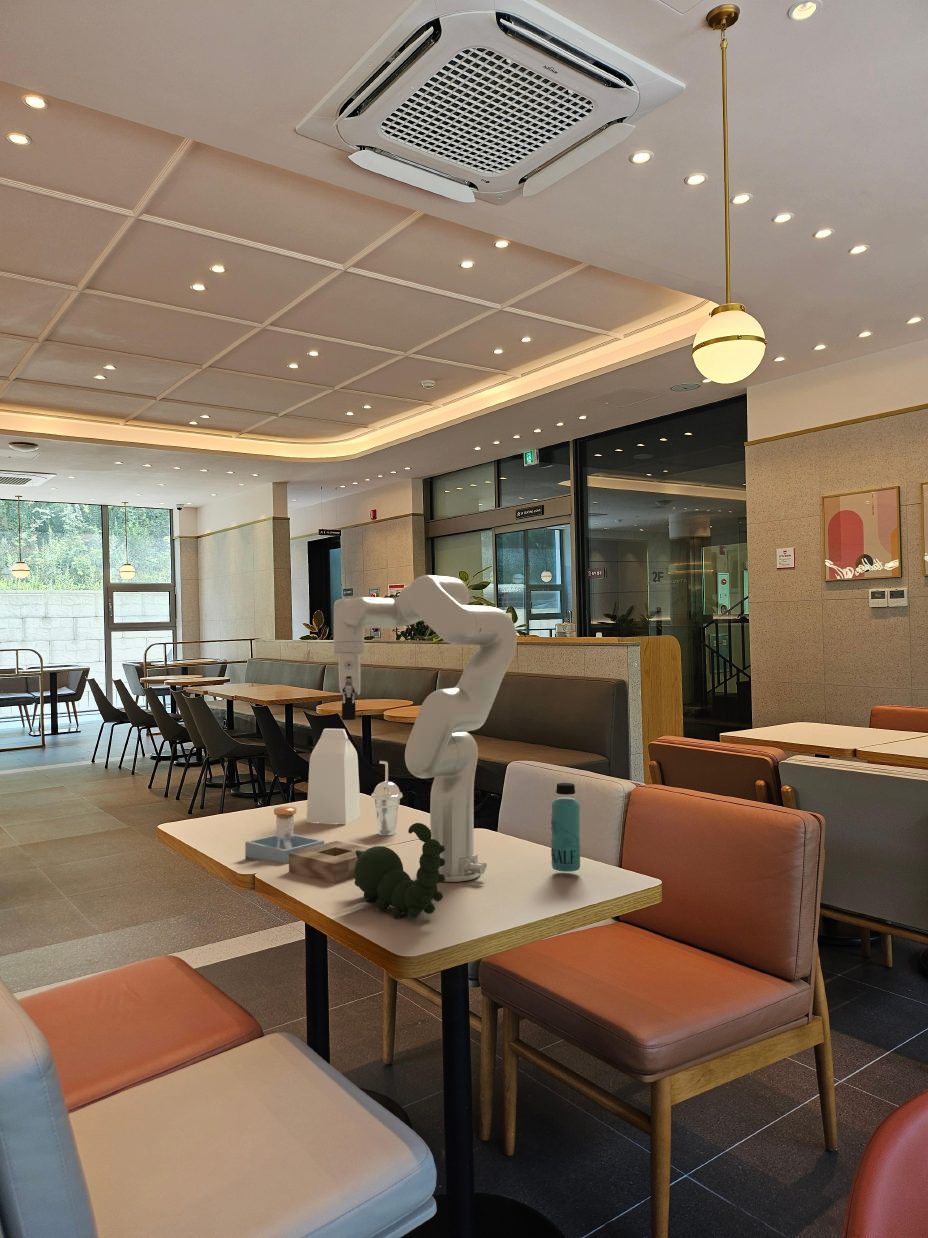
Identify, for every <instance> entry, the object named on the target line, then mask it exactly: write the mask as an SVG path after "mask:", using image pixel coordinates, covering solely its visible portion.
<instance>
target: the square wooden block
mask: <svg viewBox="0 0 928 1238" xmlns="http://www.w3.org/2000/svg"><path fill="white" fill-rule="evenodd" d="M369 848H370V847H368V846H363V845H358V844H352V843H349V842H342V841H338V840H334V841H330V842H327V843H324V844H322V845H319V846H315V847H311V848H307V849H303V850H300V851H296V852H292V853H289V863H288V872H289V873H292V874H294V875H299V876H301V877H302V876H303V877H308V878H311V879H314V880H319V881H323V882H326V883H331V884H336V883H339V882H343V881H345V880H349V879H351V878H355V876H354V869H355V865H356V862H357V860H358V858H357V855H356V850H360V851H366V850H367V849H369Z"/></svg>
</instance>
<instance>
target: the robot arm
mask: <svg viewBox="0 0 928 1238" xmlns="http://www.w3.org/2000/svg"><path fill="white" fill-rule="evenodd" d="M469 600H470V592H469V589H468V586H467V585H466V584H465V582H463V581H462V580H460V579H459V578H456V577H453V576H445V575H444V576H443V575H433V574H432V575H431V574H425V575H424V574H423V575H421V576H418V577H416V578H415V579H414V580H413V581H412V582H411V584H409V585H407V586H405V587H404V588H402V589H401V590H400V592H399V595H398V596H396V597H376V596H375V597H373V596H358V597H353V598H341V599H337V600H335V602H334V604H333V655H334V656H335V655H337V656H338V684H339V693H340V695H342V702H341V720H343V721H354V720H356V699H355V693H356V694H357V695H360V694H361V655H363V656H364V655H365V629H394V628H400V627H407V626H411V625H414V624H416V623H418V622H422V621H423V622H424V623H425V624H426V625H427V626H428V627H429V628H430V629H431V630H433V632H434V633H436V635H437V636H438V637H440V639H442V640H443V641H444V642H446V643H447V644H449V645H454V646H478V649H477V651H475V653H474V654H472V656H471V657H470V658H469V660H468V661H467V663H466V665H465V666H464V668H463V671H462V674H461V677H460V679H459V681H458V683H457V684H456V685H455V686H454V687H449V688H439V689H437V690H434V691H432V692H431V693H430V694H428V696H426V698H425V699H424V701H423V702H422V704H421V706H420V709H419V711H418V713H417V716H416V719H415V721H414V724H413V726H412V729H411V732H410V734H409V736H408V740H407V743H406V746H405V752H404V762H405V765H406V766H405V767H406V768H407V770H408V772H409V773H410V774H411V775H413V776H414V777H416V778H420V779H430V778H434V779H433V782H432V783H431V790H430V802H429V803H430V804H429V805H430V806H429V807H430V810H429V812H430V816H429V817H430V821H429V822H430V825H429V826H430V827H429V829H430V831H431V839H435V840H437V841H438V842H439V843H440V845H443V846H444V847H445V851H444V852H442V853H440V855H439V856H440V858H443V859H445V865H444V866H440V868H439V869H438V870H439V873H440V874H443V875H444V876H445V881H444V882H443V883H456V882H457V883H461V882H467V881H471V880H475V879H477V878H479V877H480V876H481V875H484V874H485V871H486V869H487V866H488V864H487V863H486V862H483V861H479V859H478V857H479V856H478V854H476V853H474V852H475V851H474V850H475V849H474V848H475V847H474V845H475V844H474V843H475V842H474V841H475V840H474V821H475V820H474V813H475V810H474V809H475V808H474V804H475V803H474V800H475V797H474V796H475V792H474V791H475V790H474V789H475V777H476V770H477V764H478V759H479V748H478V744H477V742H476V740H475V738H474V737H473V735H472V734H470V733H469V732H471V731H472V732H473V731H476V730H478V729H480V728H481V727H483V726H484V724H485V723H486V722H487V721H486V720H487V718H488V717H489V713H490V712H491V709H492V707H493V704H494V702H495V700H496V697H497V694H498V692H499V689H500V687H501V683H502V681H503V679H504V677H505V675H506V673H507V671H508V669H509V667H510V666H511V663H512V661H513V659H514V656H515V652H516V650H517V642H518V635H517V630H516V629H517V628H516V625H515V623H514V622H513V620H512V618H511V616H510V615H509V614H508V613H507V612H505V611H504V610H503V609H500V608H498V607H494V606H487V605H472V604H471V605H469V604H468V603H469Z"/></svg>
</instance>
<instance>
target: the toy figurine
mask: <svg viewBox="0 0 928 1238" xmlns="http://www.w3.org/2000/svg"><path fill="white" fill-rule="evenodd" d="M407 831H408V834H412V833H414V834H415V835H416V837H417V838H418V839H419V840H420V841H421V842H422V843H423V844H422V848H421V851H422V854H421V855H420V857H419V861H418V863H419V868H418V869H417V871H416V879H415V880H413V879H412V878H411V877H410V875H409V874H408V873H407V871H405V870H404V865H403V862H402V860H401V857H400V856H399V855H398V853H397V852H395V851H394V850H393V849H391V848H390V847H387V846H383V845H378V846H377V845H376V846H372V847H368V848H369V849H367V850H366V851H360V850H356V855H357V858H358V860H357V862H356V865H355V869H354V876H355V877H354V885H355V886H356V887H358V888H359V889H360V890H361V891H362V892H363V898H364V899H365V901H366V902H367V903H370V904H375V907H376V909H377V910H379V911H383V912H385V911H388V909H389V908H390V907H393V908H392V909H391V916H392V917H393V918H394V919H396V918H397V919H399V918H401V917H402V916H403V915H407V916H408V917H409V918H410V919H417V918H418V916H419V914H420V913H421V912H422V911H424V913H425V914H429V915H430V914H433V913H434V912H435V910H436V907H435V904H434V903H433V902H432V901H433V900H434V901H436V902H438V903H439V902H440V901H442V900H443V898H444V896H443V892H441V891H440V890H439V888H438V884H439V883H441V884H442V883H445V882H444V881H445V876H444V875H443V874H440V873H439V870H438V869H439V868H440V866H444V865H445V859H443V858H440V856H439V855H440V853H442V852H444V851H445V847H444V846H443V845H440V843H439V842H438V841H437V840H435V839H431V831H430V827H428V826H427V825H426V824H424V823H421V822H416V823H413V824H411V825H410V826H409V827H408V830H407Z"/></svg>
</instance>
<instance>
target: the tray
mask: <svg viewBox="0 0 928 1238" xmlns="http://www.w3.org/2000/svg"><path fill="white" fill-rule="evenodd" d="M244 843H245V845H244V846H245V847H244V848H245V849H244V850H245V854H244V855H245V856H244V857H245V860H248V861H252V862H258V861H262V860H267V861H273V862H277V863H280V864H284V865H285V864H289V853H292V852H296V851H300V850H303V849H307V848H311V847H315V846H319V845H322V844H325V840H323V839H322V840H321V839H319V838H318V839H317V838H312V837H308V836H304V835H299V834H294V848H290V849H286V850H284V849H280V848H276V834H274V835H273V834H272V835H270V836H265V837H261V838H257V839H252V840H248V841H245V842H244Z"/></svg>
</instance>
